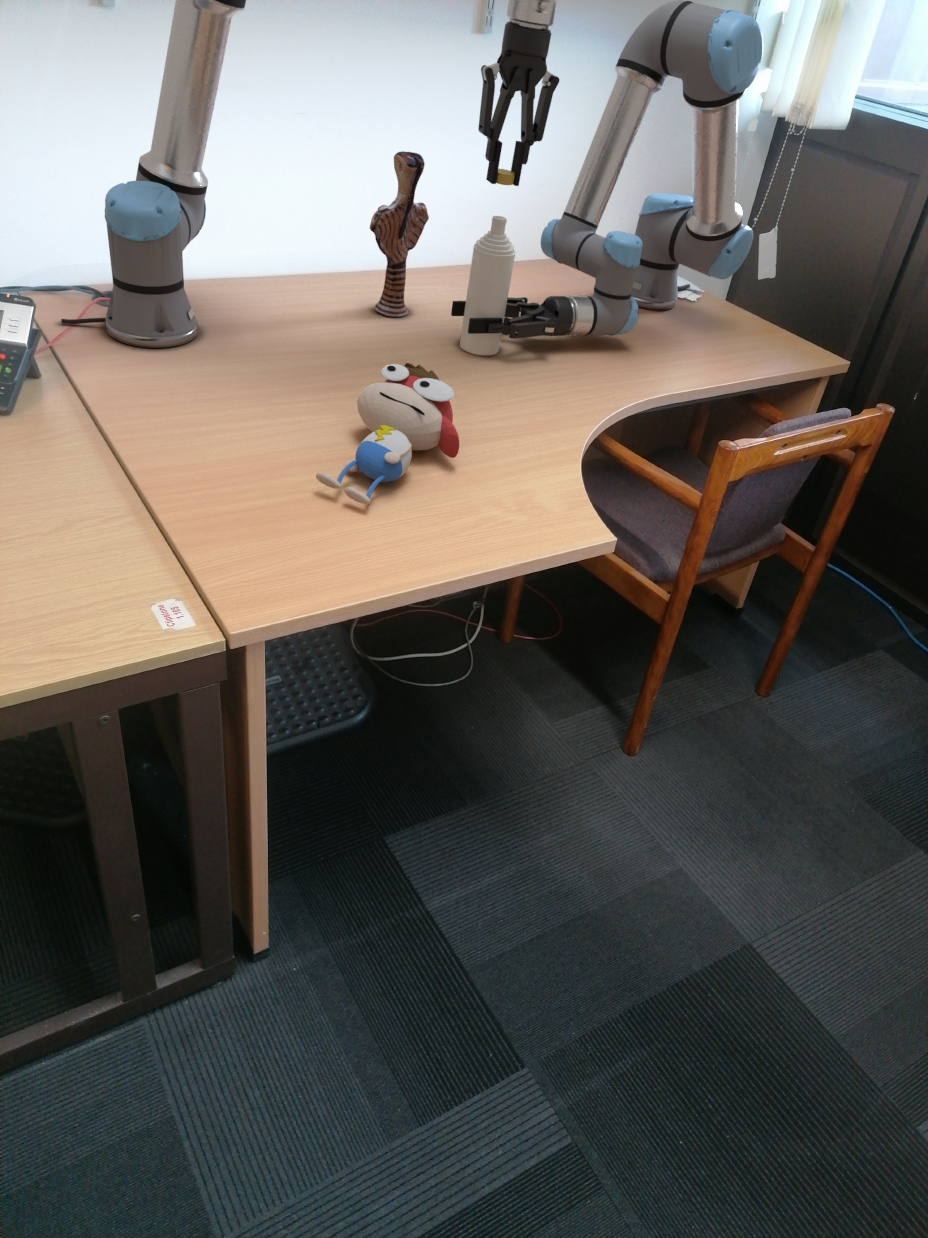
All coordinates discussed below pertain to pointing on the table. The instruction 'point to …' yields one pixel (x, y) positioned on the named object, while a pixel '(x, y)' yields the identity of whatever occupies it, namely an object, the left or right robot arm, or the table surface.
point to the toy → (399, 425)
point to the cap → (505, 177)
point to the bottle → (488, 287)
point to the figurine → (399, 231)
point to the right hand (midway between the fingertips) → (461, 316)
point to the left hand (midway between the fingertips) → (502, 182)
